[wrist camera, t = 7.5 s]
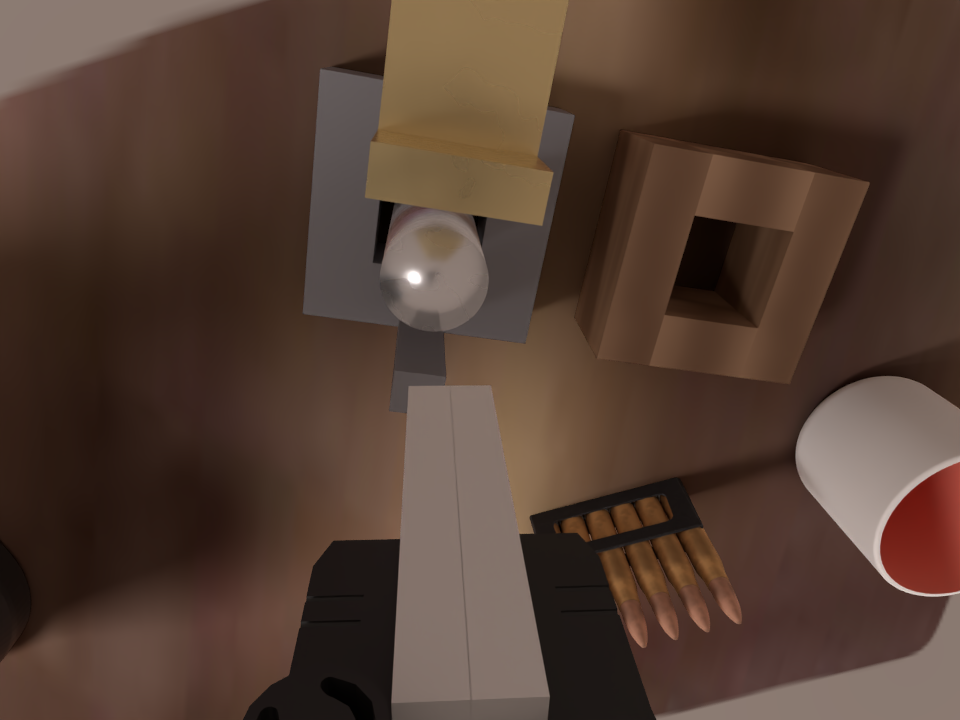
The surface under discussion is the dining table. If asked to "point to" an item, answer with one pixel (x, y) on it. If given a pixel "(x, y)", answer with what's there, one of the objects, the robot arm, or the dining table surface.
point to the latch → (467, 106)
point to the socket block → (358, 256)
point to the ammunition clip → (649, 552)
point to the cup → (890, 478)
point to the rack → (747, 266)
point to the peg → (433, 268)
